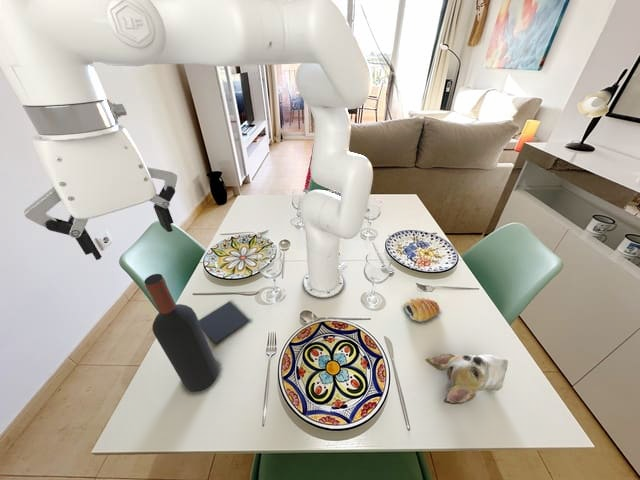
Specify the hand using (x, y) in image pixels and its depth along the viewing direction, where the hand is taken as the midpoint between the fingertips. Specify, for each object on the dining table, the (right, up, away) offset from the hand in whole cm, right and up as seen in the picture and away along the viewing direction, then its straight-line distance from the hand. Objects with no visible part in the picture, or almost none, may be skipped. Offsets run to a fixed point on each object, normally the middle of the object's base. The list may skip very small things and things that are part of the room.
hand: (134, 241), depth 41 cm
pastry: (+56, -20, +35) cm, 70 cm away
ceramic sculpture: (+60, -32, +19) cm, 71 cm away
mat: (+1, -23, +34) cm, 41 cm away
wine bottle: (+1, -31, +21) cm, 38 cm away
